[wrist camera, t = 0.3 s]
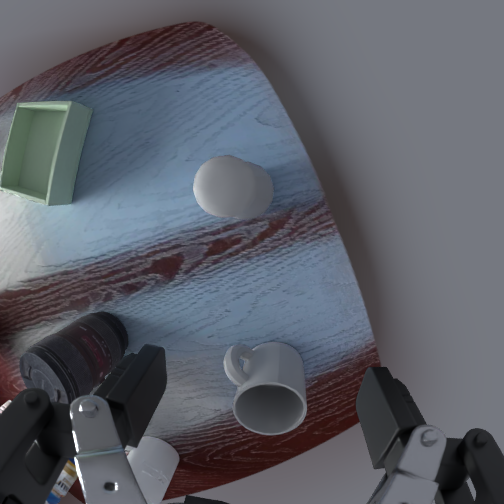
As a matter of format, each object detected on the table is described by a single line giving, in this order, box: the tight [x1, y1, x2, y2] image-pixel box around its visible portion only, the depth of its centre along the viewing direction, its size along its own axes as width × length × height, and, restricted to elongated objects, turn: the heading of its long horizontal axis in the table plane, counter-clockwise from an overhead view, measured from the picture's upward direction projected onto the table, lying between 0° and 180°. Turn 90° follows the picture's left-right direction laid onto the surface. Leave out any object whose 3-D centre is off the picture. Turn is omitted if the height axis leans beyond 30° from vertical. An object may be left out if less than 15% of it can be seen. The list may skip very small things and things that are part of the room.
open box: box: [0, 101, 93, 206], centre depth 31 cm, size 13×13×5 cm
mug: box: [125, 436, 179, 504], centre depth 34 cm, size 8×12×12 cm
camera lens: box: [20, 312, 128, 404], centre depth 29 cm, size 8×8×15 cm
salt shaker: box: [193, 155, 274, 220], centre depth 25 cm, size 6×6×13 cm
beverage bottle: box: [45, 458, 78, 504], centre depth 35 cm, size 8×8×20 cm
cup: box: [224, 342, 307, 435], centre depth 30 cm, size 7×10×9 cm
